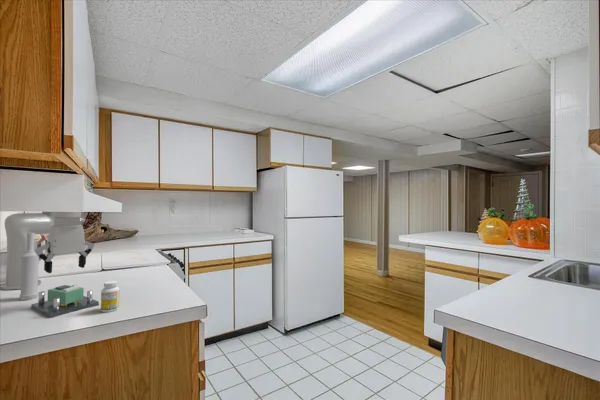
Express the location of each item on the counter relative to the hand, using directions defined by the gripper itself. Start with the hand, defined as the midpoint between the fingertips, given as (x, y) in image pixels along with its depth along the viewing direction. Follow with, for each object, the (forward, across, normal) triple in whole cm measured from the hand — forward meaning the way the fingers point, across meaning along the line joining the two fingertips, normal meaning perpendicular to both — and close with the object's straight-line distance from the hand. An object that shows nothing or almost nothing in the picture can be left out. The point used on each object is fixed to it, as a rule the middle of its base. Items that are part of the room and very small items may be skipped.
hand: (65, 269), depth 103 cm
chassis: (+13, 0, +1) cm, 13 cm away
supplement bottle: (+13, -7, +17) cm, 22 cm away
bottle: (+14, +4, -20) cm, 24 cm away
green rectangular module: (+11, 0, +1) cm, 11 cm away
